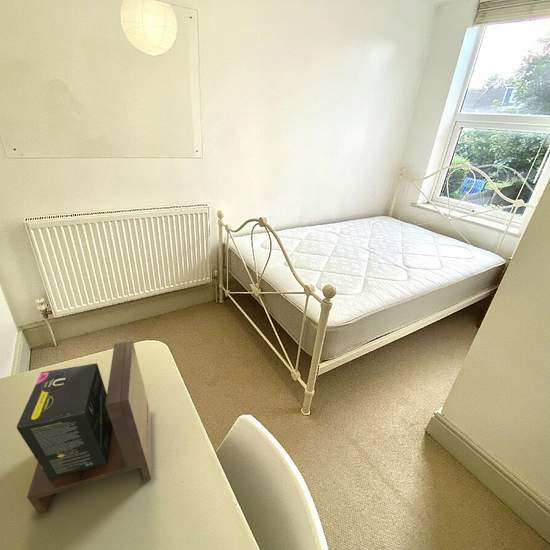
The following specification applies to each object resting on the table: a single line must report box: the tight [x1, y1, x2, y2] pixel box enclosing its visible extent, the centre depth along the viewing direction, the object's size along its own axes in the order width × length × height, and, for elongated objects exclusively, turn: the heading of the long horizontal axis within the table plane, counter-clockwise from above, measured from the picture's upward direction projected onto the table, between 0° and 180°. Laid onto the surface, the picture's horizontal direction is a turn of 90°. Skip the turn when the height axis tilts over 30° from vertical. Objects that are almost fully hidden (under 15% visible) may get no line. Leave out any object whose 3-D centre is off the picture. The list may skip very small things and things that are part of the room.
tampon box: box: [15, 362, 112, 479], centre depth 54 cm, size 11×9×15 cm
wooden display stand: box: [26, 340, 152, 515], centre depth 55 cm, size 18×14×23 cm
